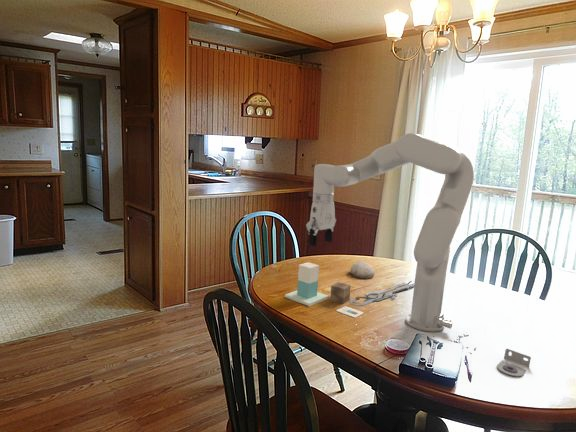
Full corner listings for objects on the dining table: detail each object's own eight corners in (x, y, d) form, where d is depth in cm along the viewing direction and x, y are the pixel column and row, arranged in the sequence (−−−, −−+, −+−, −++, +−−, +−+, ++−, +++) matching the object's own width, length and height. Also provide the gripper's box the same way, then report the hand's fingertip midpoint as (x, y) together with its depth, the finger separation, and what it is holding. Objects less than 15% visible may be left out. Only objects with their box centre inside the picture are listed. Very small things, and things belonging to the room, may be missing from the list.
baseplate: (328, 298, 164) (328, 295, 163) (309, 306, 155) (309, 303, 154) (304, 289, 171) (304, 287, 171) (284, 297, 162) (284, 294, 162)
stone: (366, 288, 190) (378, 276, 188) (349, 275, 189) (360, 262, 187) (363, 277, 203) (374, 265, 201) (347, 264, 202) (358, 252, 200)
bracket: (493, 371, 117) (495, 359, 116) (504, 359, 124) (506, 348, 124) (519, 381, 113) (521, 369, 112) (529, 368, 120) (531, 356, 120)
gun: (344, 304, 162) (364, 312, 155) (344, 298, 162) (365, 306, 154) (404, 283, 187) (424, 289, 180) (404, 278, 187) (424, 284, 179)
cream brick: (318, 280, 162) (319, 265, 161) (309, 283, 158) (310, 268, 157) (307, 276, 165) (308, 262, 164) (297, 279, 161) (298, 264, 160)
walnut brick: (349, 300, 163) (350, 285, 162) (343, 304, 159) (344, 289, 157) (336, 296, 166) (337, 281, 165) (330, 300, 161) (331, 285, 160)
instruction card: (364, 313, 151) (364, 312, 151) (354, 317, 147) (355, 317, 147) (345, 306, 156) (345, 305, 156) (335, 310, 152) (336, 310, 152)
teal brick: (317, 295, 163) (318, 280, 162) (308, 299, 159) (309, 283, 158) (305, 291, 167) (306, 276, 165) (296, 294, 162) (297, 279, 161)
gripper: (317, 201, 147) (314, 249, 150) (344, 197, 160) (341, 241, 163) (300, 198, 151) (298, 245, 154) (328, 195, 164) (326, 238, 167)
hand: (320, 243), depth 159 cm, fingers open, 9 cm apart
